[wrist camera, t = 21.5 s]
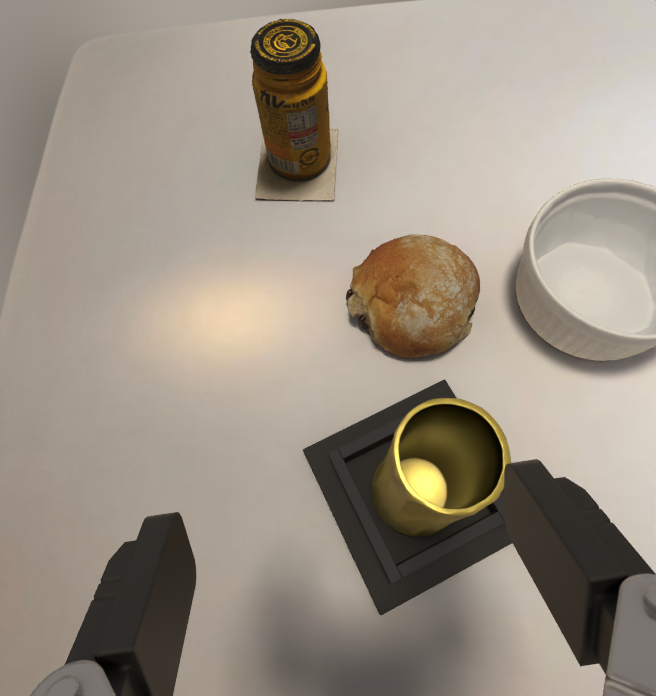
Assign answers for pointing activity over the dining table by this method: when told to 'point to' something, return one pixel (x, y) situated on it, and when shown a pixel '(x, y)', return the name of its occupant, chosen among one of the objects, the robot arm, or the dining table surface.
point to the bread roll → (415, 295)
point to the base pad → (370, 529)
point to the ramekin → (593, 270)
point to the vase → (440, 467)
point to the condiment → (293, 113)
